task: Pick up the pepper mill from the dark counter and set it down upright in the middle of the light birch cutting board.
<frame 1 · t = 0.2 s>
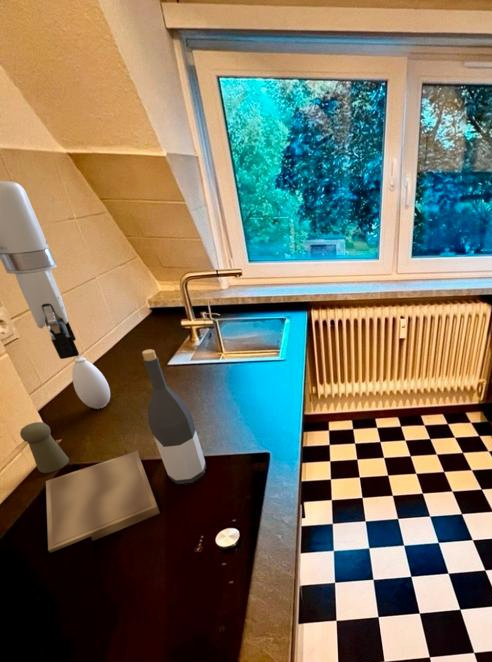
hand: (68, 348, 79), 27 cm above the counter, tool pointing down, fingers open, 9 cm apart
cutting board: (102, 500, 81), on the counter
wine bottle: (188, 474, 88), on the counter
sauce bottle: (100, 407, 112), on the counter
pepper mill: (54, 465, 91), on the counter
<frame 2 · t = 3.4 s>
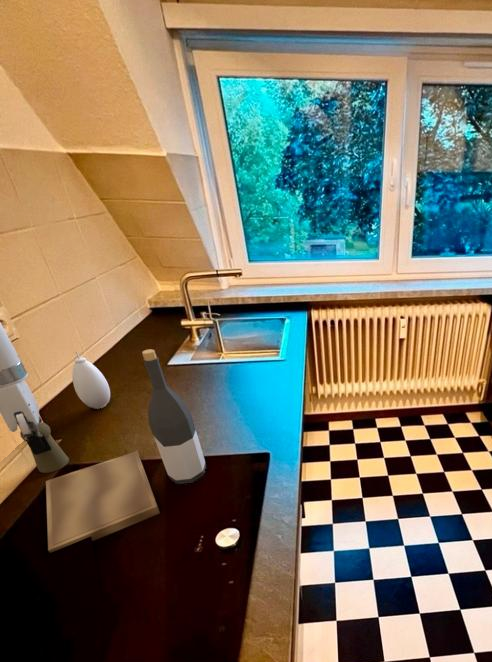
hand: (42, 444, 88), 6 cm above the counter, tool pointing down, fingers closed on pepper mill, 5 cm apart
pepper mill: (54, 464, 91), on the counter, touching gripper
everything else where it was.
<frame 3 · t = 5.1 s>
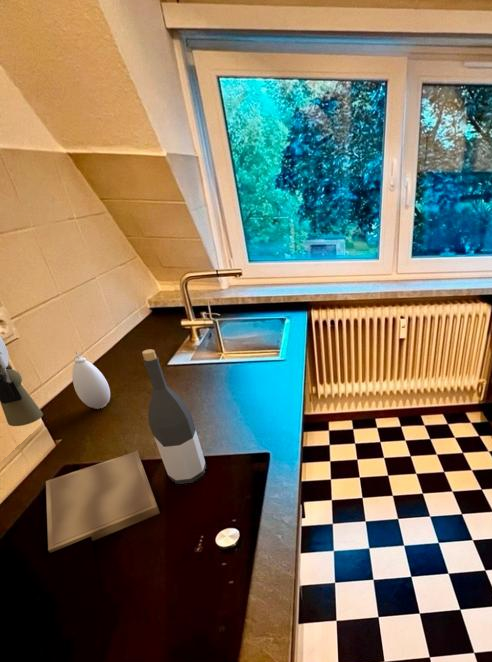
hand: (12, 394, 79), 20 cm above the counter, tool pointing down, fingers closed on pepper mill, 5 cm apart
pepper mill: (26, 419, 83), point 13 cm above the counter, touching gripper
everything else where it was.
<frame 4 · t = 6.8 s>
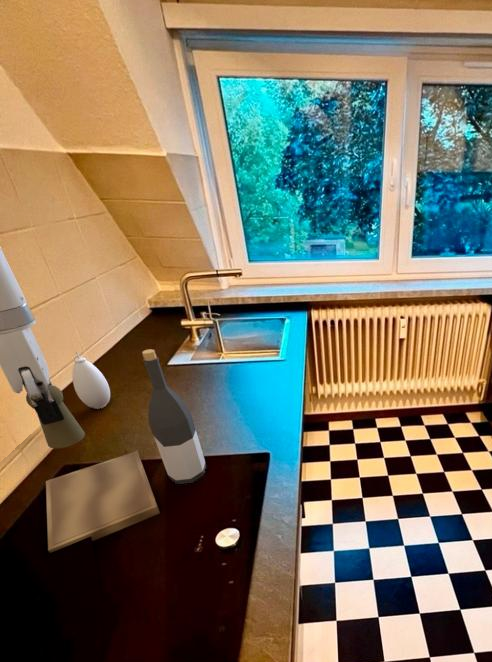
hand: (53, 413, 71), 21 cm above the counter, tool pointing down, fingers closed on pepper mill, 5 cm apart
pepper mill: (67, 439, 74), point 15 cm above the counter, touching gripper
everything else where it was.
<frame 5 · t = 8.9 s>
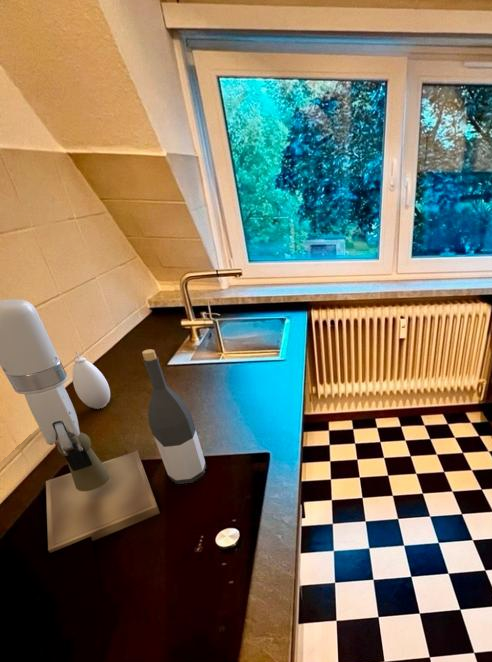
hand: (81, 458, 75), 11 cm above the counter, tool pointing down, fingers closed on pepper mill, 5 cm apart
pepper mill: (93, 481, 78), point 5 cm above the counter, touching gripper
everything else where it was.
when the fingers open (8 cm above the counter, at t = 10.2 s): pepper mill stays where it is, resting on cutting board.
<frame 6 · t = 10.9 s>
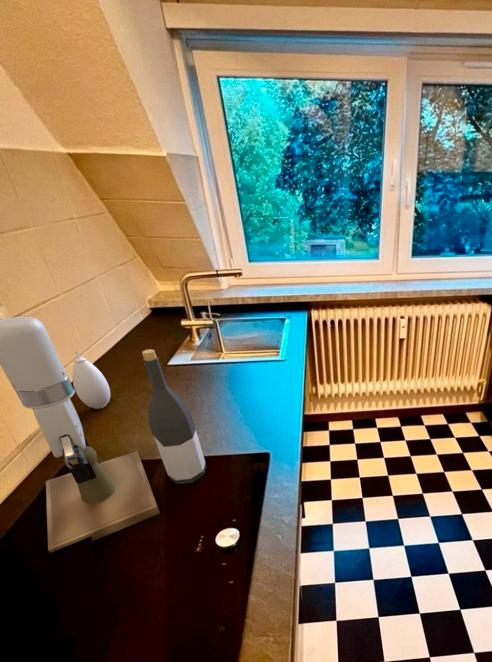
hand: (84, 466, 76), 9 cm above the counter, tool pointing down, fingers open, 9 cm apart
pepper mill: (99, 493, 80), point 2 cm above the counter, touching cutting board
everything else where it was.
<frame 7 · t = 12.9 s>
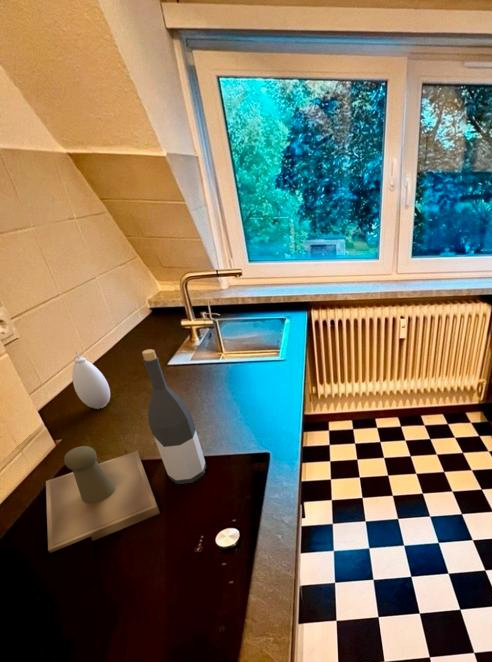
nothing on the counter moved.
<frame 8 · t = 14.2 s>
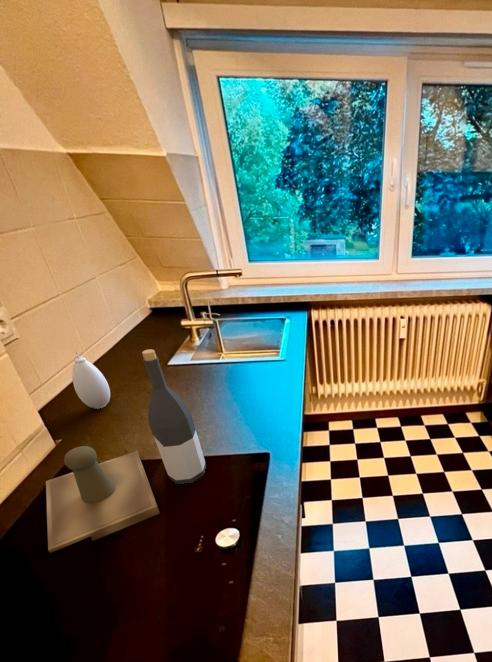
nothing on the counter moved.
at the end: pepper mill inside the target area on the cutting board (0.0 cm from its centre), point 1.9 cm above the cutting board's base; pepper mill tilted 0°; the gripper is holding nothing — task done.
